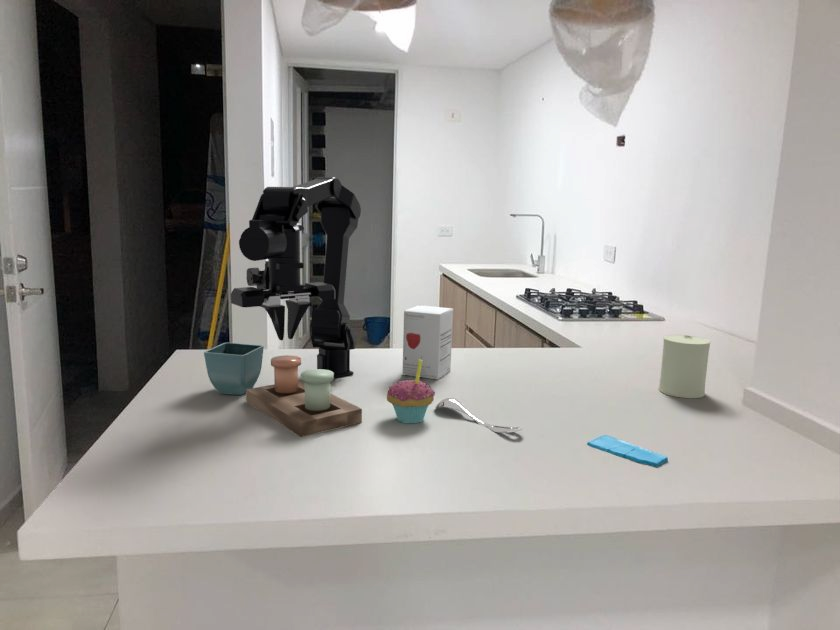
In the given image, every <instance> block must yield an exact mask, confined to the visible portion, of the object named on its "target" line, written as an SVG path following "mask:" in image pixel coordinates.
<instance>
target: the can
mask: <svg viewBox="0 0 840 630" xmlns="http://www.w3.org/2000/svg"><path fill="white" fill-rule="evenodd" d="M662 343H663V344H662V356H661V364H660V365H661V367H660V368H661V369H660V377H659V385H658V387H657V389H658V391H659V392H661V393H662V394H665V395H667V396H671V397H676V398H682V399H700V398H703V397H705V395H706V392H705V391H706V382H707V381H706V379H707V372H708V363H709V361H708V360H709V354H710V345H711V341H710V340H709V339H707V338H704V337H699V336H695V335H689V334H688V335H687V334H669V335H665V336H663V342H662Z"/></svg>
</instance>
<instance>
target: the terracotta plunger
mask: <svg viewBox="0 0 840 630" xmlns="http://www.w3.org/2000/svg"><path fill="white" fill-rule="evenodd" d="M301 365H302V358H301V357H300V356H297V355H277V356H273V357H271V359H270V366H271V367H272V368H273V369H274V370H273V371H274V372H273V374H274V375H273V376H274V378H273V380H274V382H273V383H274V384H275V391H276V392H279V393H292V392H295V391H297V390H298V380H299V366H301Z"/></svg>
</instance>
